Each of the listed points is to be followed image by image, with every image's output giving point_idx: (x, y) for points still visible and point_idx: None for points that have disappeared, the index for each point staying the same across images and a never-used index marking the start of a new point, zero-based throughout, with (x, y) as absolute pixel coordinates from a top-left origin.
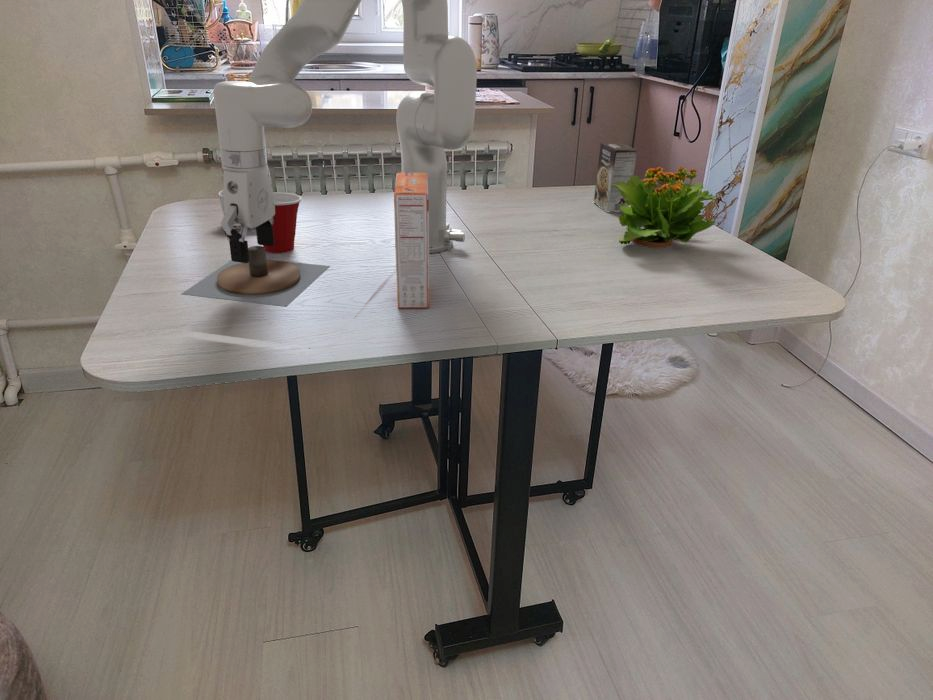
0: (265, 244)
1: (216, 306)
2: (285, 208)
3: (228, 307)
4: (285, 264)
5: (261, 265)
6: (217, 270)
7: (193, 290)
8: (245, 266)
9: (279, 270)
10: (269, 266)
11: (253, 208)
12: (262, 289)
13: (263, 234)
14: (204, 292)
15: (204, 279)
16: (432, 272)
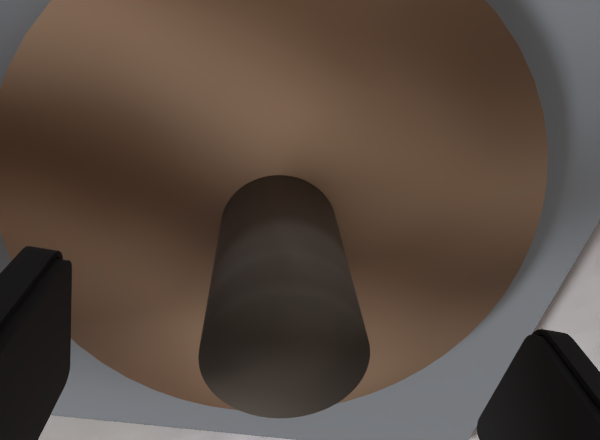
0: (66, 319)
1: (566, 310)
2: None
3: (592, 261)
4: (51, 93)
5: (335, 236)
6: (179, 422)
7: (428, 432)
8: (157, 330)
9: (193, 110)
10: (126, 199)
11: None
12: (544, 143)
13: (18, 413)
14: (455, 393)
15: (301, 434)
16: None
